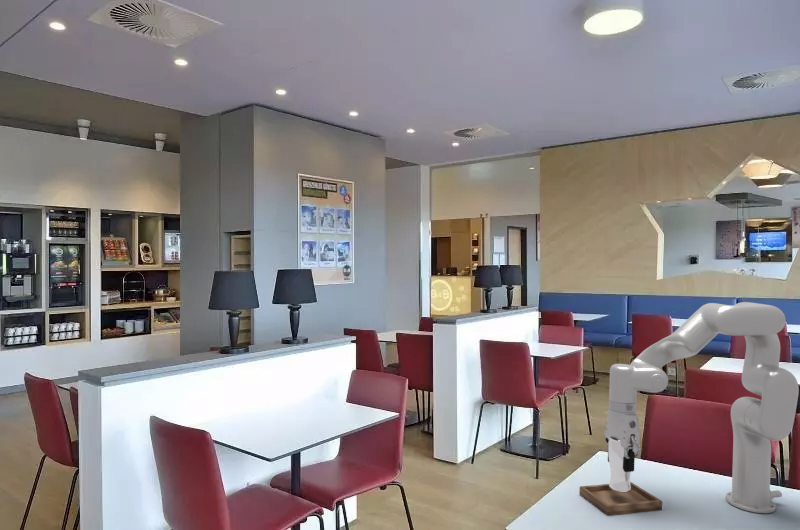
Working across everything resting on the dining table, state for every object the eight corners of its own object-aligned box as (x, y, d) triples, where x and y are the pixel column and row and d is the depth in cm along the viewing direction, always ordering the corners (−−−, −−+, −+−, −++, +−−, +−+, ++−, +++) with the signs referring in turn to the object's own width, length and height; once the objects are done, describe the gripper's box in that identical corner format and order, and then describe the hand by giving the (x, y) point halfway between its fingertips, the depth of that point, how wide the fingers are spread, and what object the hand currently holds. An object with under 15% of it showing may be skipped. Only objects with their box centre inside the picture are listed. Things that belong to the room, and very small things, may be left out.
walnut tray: (630, 489, 173) (630, 481, 173) (662, 509, 159) (662, 501, 159) (579, 494, 168) (579, 486, 168) (607, 515, 155) (607, 506, 155)
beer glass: (611, 481, 169) (612, 432, 168) (635, 487, 164) (636, 437, 164) (604, 489, 163) (605, 438, 163) (629, 495, 159) (630, 443, 159)
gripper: (653, 414, 156) (651, 477, 156) (615, 398, 173) (613, 455, 173) (630, 415, 154) (628, 479, 154) (594, 399, 171) (592, 456, 171)
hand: (620, 466), depth 164 cm, fingers closed on beer glass, 6 cm apart
